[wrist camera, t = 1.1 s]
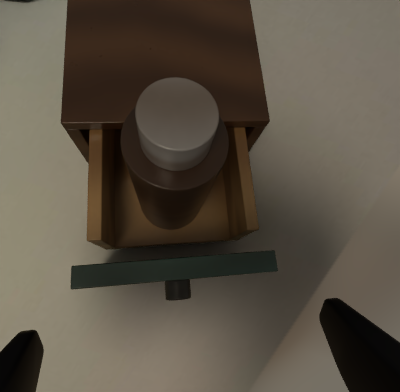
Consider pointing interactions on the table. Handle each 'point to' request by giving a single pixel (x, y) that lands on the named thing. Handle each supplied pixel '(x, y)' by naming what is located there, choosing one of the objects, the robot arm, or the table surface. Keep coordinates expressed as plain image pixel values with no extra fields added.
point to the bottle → (174, 150)
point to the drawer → (154, 236)
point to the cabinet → (159, 60)
